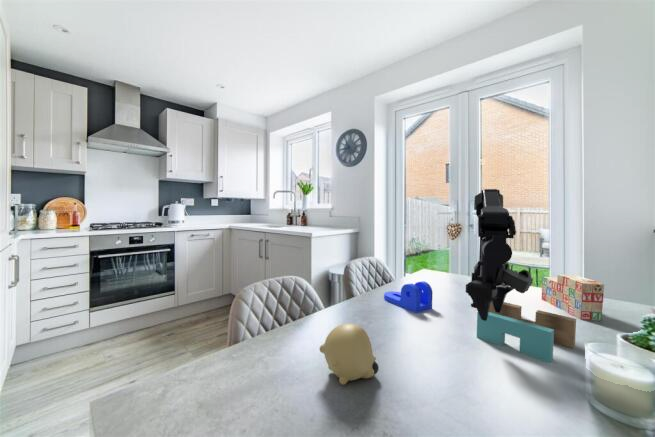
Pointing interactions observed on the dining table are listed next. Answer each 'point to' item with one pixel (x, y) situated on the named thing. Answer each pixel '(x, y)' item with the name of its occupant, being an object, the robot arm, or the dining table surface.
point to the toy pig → (349, 353)
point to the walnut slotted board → (544, 322)
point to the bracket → (412, 297)
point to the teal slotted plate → (517, 335)
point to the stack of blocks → (574, 295)
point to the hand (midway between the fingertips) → (491, 316)
